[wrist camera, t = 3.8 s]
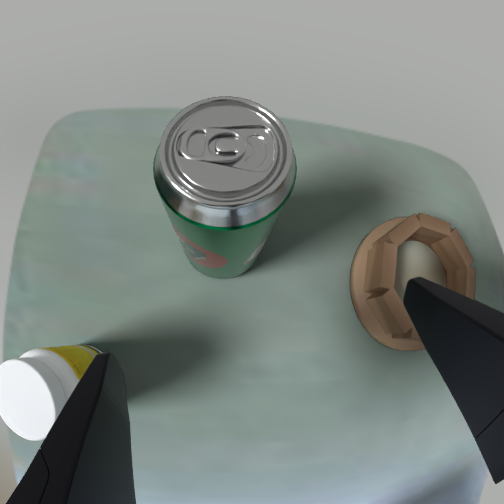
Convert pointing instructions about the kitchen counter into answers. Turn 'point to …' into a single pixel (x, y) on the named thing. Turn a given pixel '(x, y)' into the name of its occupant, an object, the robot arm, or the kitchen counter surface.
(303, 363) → the kitchen counter surface
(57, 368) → the supplement bottle
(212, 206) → the soda can
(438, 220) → the holder
